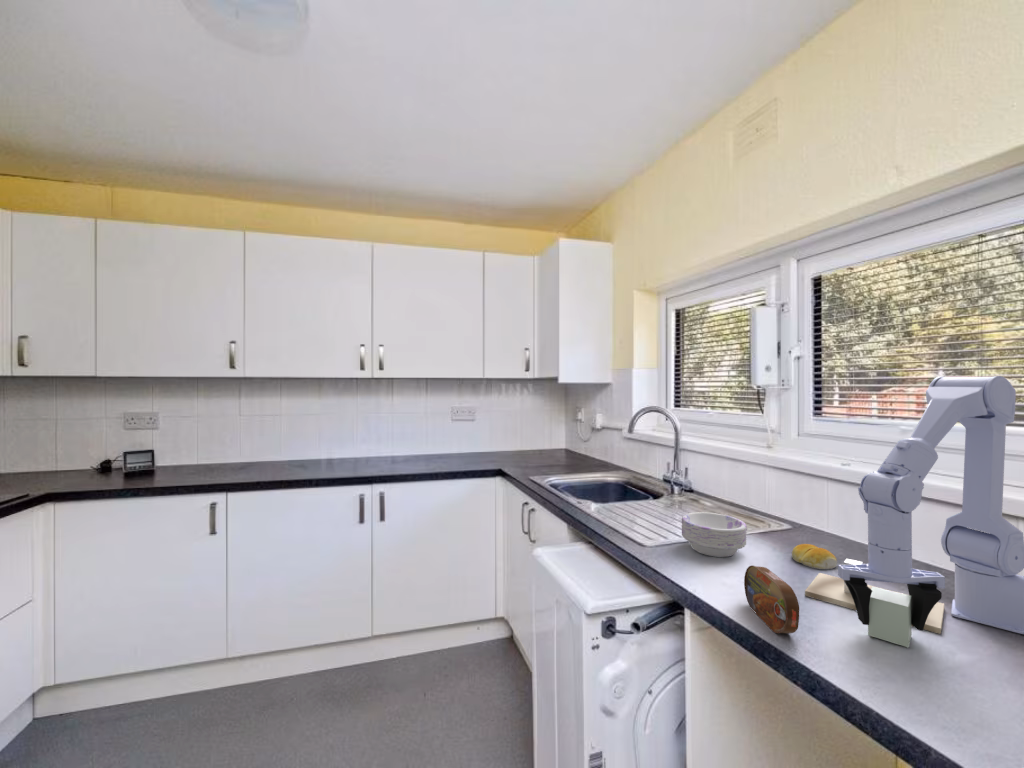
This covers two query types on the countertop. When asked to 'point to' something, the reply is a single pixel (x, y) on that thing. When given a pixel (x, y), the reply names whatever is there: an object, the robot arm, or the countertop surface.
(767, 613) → the tin
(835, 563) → the bread roll
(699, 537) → the paper bowls
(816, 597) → the board
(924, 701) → the countertop surface
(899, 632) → the pale green block
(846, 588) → the grey and beige block
